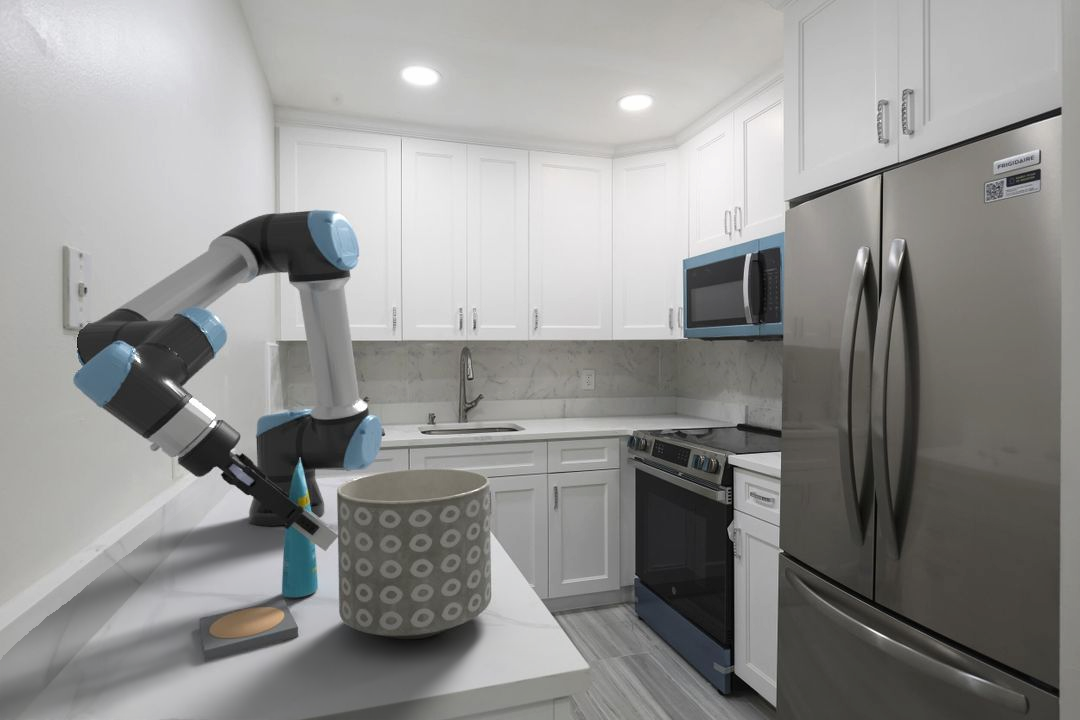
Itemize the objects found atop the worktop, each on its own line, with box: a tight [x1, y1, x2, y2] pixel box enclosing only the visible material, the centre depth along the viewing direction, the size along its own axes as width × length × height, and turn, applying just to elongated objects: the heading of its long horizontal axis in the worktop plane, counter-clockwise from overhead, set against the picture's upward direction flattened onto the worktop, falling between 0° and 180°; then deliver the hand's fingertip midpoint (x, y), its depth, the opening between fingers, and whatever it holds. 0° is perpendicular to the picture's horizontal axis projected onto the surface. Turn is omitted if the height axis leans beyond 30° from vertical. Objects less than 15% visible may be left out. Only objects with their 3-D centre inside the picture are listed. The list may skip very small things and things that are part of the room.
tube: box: [281, 458, 319, 598], centre depth 84 cm, size 7×5×19 cm, turn 26°
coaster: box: [199, 598, 299, 662], centre depth 72 cm, size 10×10×1 cm
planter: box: [336, 468, 492, 640], centre depth 74 cm, size 19×19×18 cm
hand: (325, 536), depth 86 cm, fingers closed on tube, 6 cm apart
